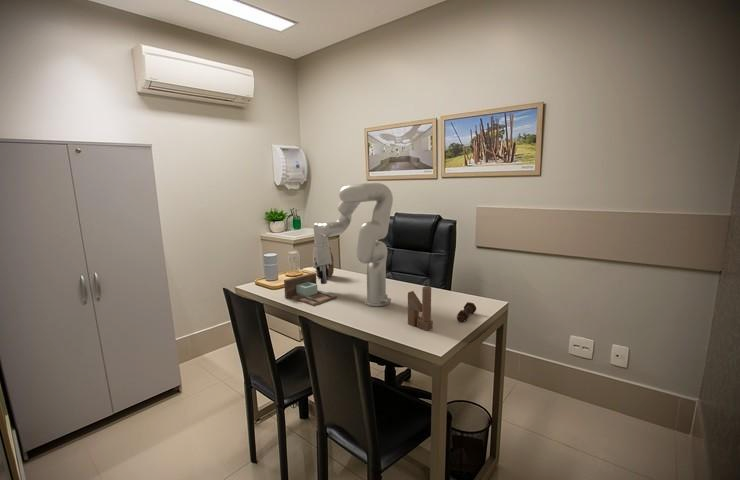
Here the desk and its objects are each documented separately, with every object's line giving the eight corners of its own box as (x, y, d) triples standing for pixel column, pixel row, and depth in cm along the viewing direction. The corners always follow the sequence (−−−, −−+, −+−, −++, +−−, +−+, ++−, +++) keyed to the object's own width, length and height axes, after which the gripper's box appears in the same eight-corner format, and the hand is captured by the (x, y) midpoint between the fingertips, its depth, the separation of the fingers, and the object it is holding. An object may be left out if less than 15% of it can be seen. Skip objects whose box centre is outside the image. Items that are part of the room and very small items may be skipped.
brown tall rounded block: (323, 280, 226) (322, 248, 223) (315, 278, 230) (314, 247, 227) (335, 276, 234) (334, 246, 231) (327, 274, 239) (326, 245, 236)
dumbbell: (458, 327, 155) (468, 315, 168) (468, 323, 152) (478, 311, 165) (451, 314, 156) (463, 303, 168) (461, 311, 153) (472, 300, 165)
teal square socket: (317, 293, 194) (317, 284, 194) (305, 297, 188) (305, 287, 188) (308, 290, 200) (308, 281, 199) (296, 294, 194) (296, 285, 193)
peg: (328, 283, 201) (326, 262, 199) (323, 284, 199) (321, 263, 197) (324, 282, 203) (322, 261, 202) (319, 283, 201) (318, 262, 199)
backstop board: (339, 297, 192) (339, 278, 190) (309, 306, 177) (309, 287, 175) (311, 288, 208) (310, 271, 206) (281, 296, 193) (281, 279, 191)
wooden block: (412, 321, 156) (413, 282, 154) (432, 328, 149) (433, 287, 146) (407, 324, 154) (407, 283, 151) (427, 331, 146) (428, 289, 143)
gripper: (328, 242, 206) (330, 273, 209) (305, 246, 194) (307, 279, 197) (337, 243, 201) (338, 274, 204) (314, 247, 189) (316, 281, 192)
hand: (323, 276), depth 200 cm, fingers closed on peg, 3 cm apart
